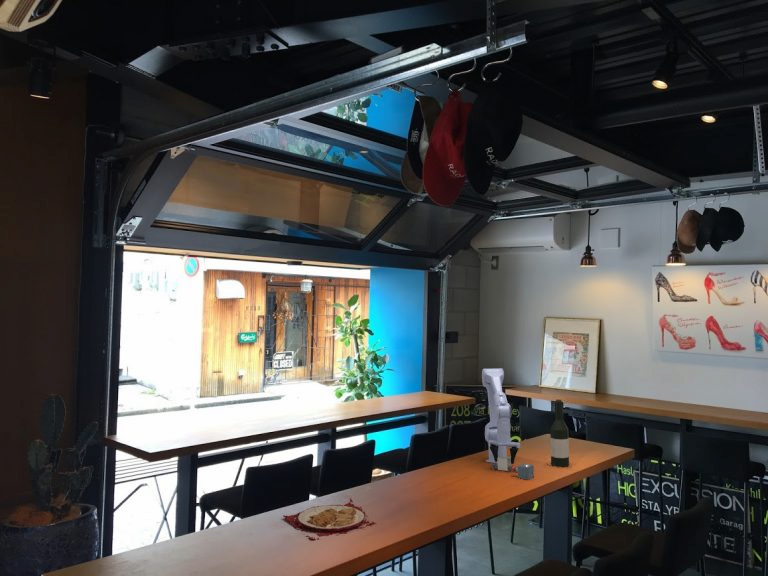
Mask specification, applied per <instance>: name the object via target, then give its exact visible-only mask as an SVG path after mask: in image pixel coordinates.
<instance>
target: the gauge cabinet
mask: <svg viewBox="0 0 768 576" xmlns="http://www.w3.org/2000/svg"><path fill="white" fill-rule="evenodd" d="M534 466H535V465H534V464H529V463H520V464H519V465H518V466H517V468H518V472H517V479H519V478H520V479H522V480H526V479H527V480H528V481H529V480H531V479H532V478H534V477H535V475H534V474H535V473H534V471H535V470H534ZM527 480H526V481H527Z"/></svg>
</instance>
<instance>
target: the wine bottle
mask: <svg viewBox="0 0 768 576" xmlns="http://www.w3.org/2000/svg"><path fill="white" fill-rule="evenodd" d="M554 407H555V408H554V409H555V410H554V412H555V413H554V414H555V416H554V417H555V420H554V422H553V423H552V425H551V427H550V429H549V431H550V433H549V434H550V466H553V467H555V466H556V467H557V468H567V467H569V466H570V443H569V440H570V439H569V437H570V436H569V434H570V433H569V427H568V426H567V424H566V422H565V421H564V414H563V408H564V407H563V401H562V399H559V398H558V399H555V402H554Z"/></svg>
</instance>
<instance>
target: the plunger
mask: <svg viewBox="0 0 768 576" xmlns="http://www.w3.org/2000/svg"><path fill="white" fill-rule="evenodd" d="M510 472H511V473H518V468H516V466H515V465H511V471H510Z"/></svg>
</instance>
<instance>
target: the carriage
mask: <svg viewBox="0 0 768 576" xmlns="http://www.w3.org/2000/svg"><path fill="white" fill-rule="evenodd" d="M497 461H498V463H497V465H498V469H497V470H498V471H505V472H509V471H508V467H512V464H511V456H507V455H506V456H500V457H498V458H497Z"/></svg>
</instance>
